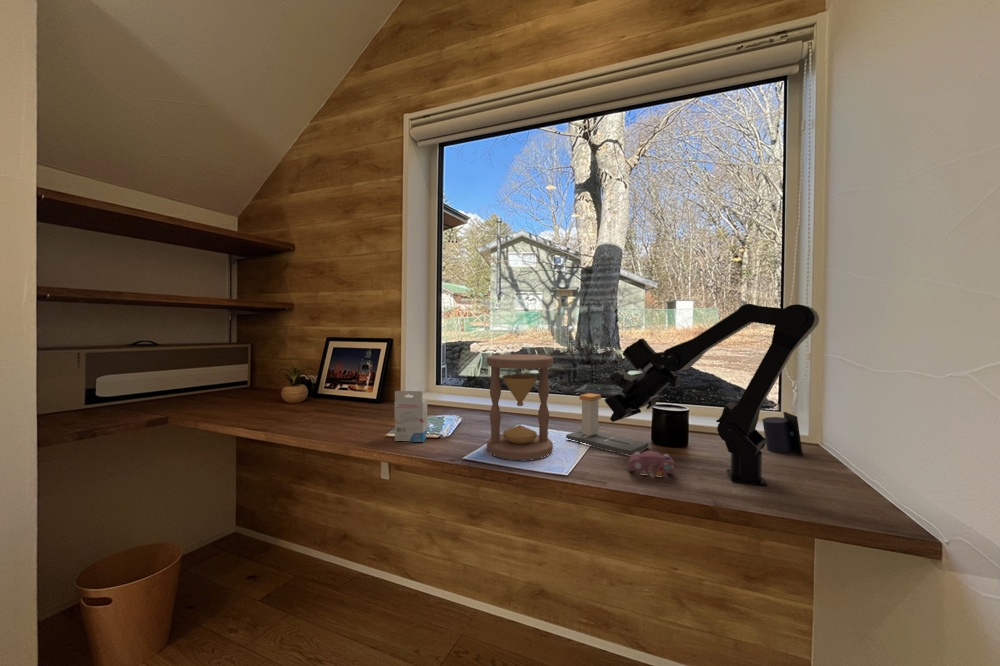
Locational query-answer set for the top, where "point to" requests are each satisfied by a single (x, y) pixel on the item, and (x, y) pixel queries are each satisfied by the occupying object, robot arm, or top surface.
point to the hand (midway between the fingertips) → (611, 420)
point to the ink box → (410, 416)
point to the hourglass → (519, 439)
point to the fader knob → (590, 413)
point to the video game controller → (651, 463)
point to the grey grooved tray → (610, 442)
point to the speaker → (782, 434)
